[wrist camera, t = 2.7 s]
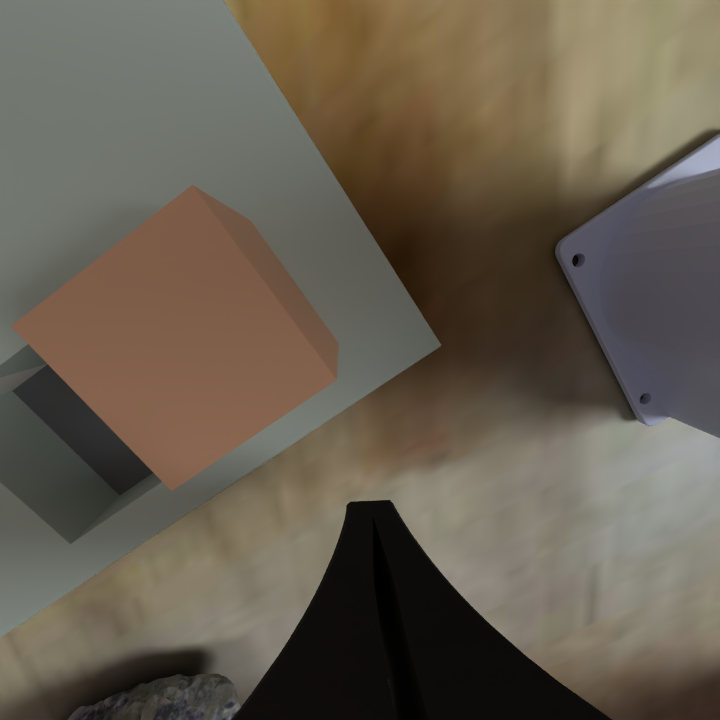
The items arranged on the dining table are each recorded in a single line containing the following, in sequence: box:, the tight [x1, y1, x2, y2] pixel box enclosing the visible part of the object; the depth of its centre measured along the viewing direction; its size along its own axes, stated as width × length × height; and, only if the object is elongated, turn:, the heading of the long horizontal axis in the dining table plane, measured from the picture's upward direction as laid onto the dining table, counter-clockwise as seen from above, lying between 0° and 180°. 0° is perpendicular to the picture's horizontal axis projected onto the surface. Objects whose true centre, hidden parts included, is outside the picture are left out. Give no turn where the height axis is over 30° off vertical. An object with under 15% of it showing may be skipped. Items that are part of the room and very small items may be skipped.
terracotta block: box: [11, 185, 339, 491], centre depth 9 cm, size 4×4×4 cm
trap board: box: [0, 0, 442, 638], centre depth 12 cm, size 15×23×3 cm, turn 124°
